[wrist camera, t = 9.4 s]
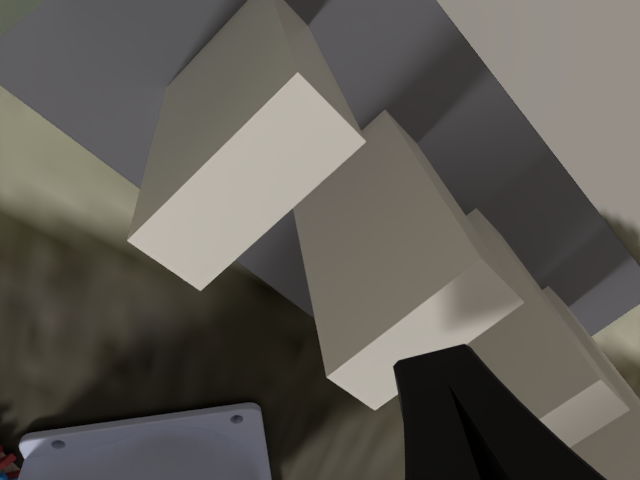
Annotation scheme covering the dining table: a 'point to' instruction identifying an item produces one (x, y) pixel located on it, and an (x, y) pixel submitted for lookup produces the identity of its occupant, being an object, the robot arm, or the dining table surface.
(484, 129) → the domino mat
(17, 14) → the sage domino
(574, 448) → the beige rectangular block
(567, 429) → the domino
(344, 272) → the domino
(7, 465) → the woven mat
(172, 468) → the robot arm
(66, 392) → the dining table surface
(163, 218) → the domino
